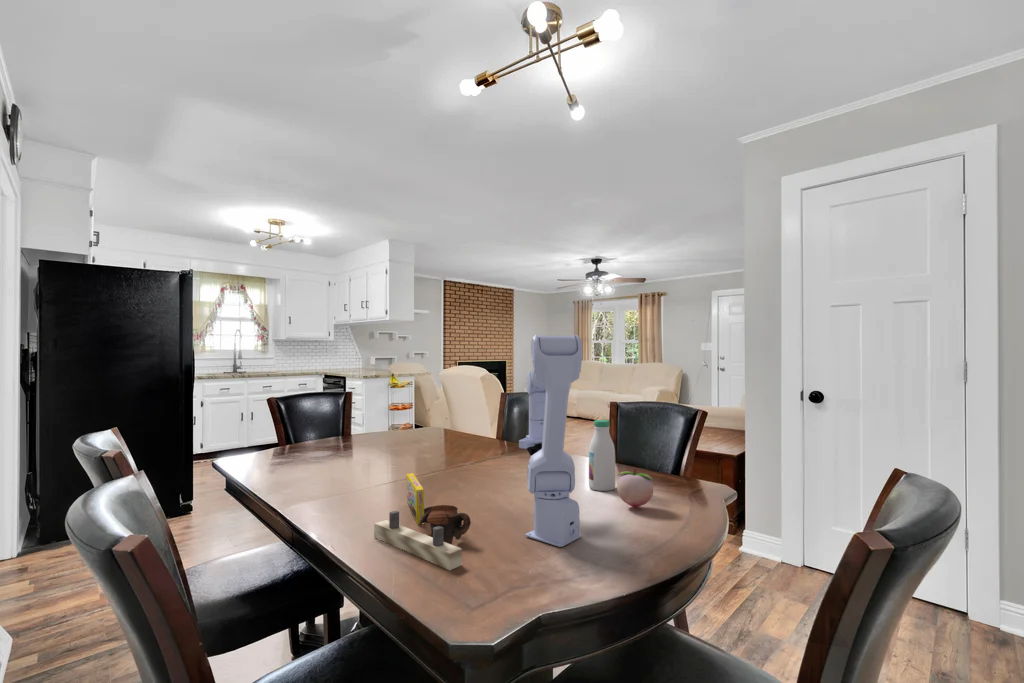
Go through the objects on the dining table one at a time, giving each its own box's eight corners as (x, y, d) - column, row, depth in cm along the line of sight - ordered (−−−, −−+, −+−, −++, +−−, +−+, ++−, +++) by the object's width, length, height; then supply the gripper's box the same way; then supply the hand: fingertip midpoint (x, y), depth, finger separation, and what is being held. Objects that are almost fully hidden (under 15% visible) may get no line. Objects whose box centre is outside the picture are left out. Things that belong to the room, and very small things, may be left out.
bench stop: (461, 565, 89) (462, 532, 89) (449, 570, 87) (450, 536, 87) (386, 533, 104) (386, 505, 105) (374, 537, 102) (374, 509, 102)
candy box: (405, 505, 125) (406, 473, 125) (413, 504, 126) (414, 472, 126) (415, 525, 110) (416, 489, 110) (425, 524, 111) (425, 488, 111)
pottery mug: (409, 549, 98) (411, 507, 102) (433, 554, 105) (434, 515, 110) (462, 540, 94) (461, 498, 99) (483, 546, 102) (481, 507, 106)
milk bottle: (619, 487, 143) (618, 420, 143) (609, 493, 136) (609, 422, 137) (594, 483, 147) (594, 418, 148) (584, 489, 140) (584, 421, 141)
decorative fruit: (615, 511, 120) (614, 471, 121) (617, 502, 128) (617, 464, 128) (654, 515, 118) (653, 474, 118) (654, 505, 125) (654, 466, 126)
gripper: (544, 415, 129) (544, 466, 129) (509, 420, 118) (509, 476, 118) (566, 417, 125) (566, 470, 124) (531, 423, 114) (531, 481, 113)
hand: (540, 473), depth 121 cm, fingers closed
